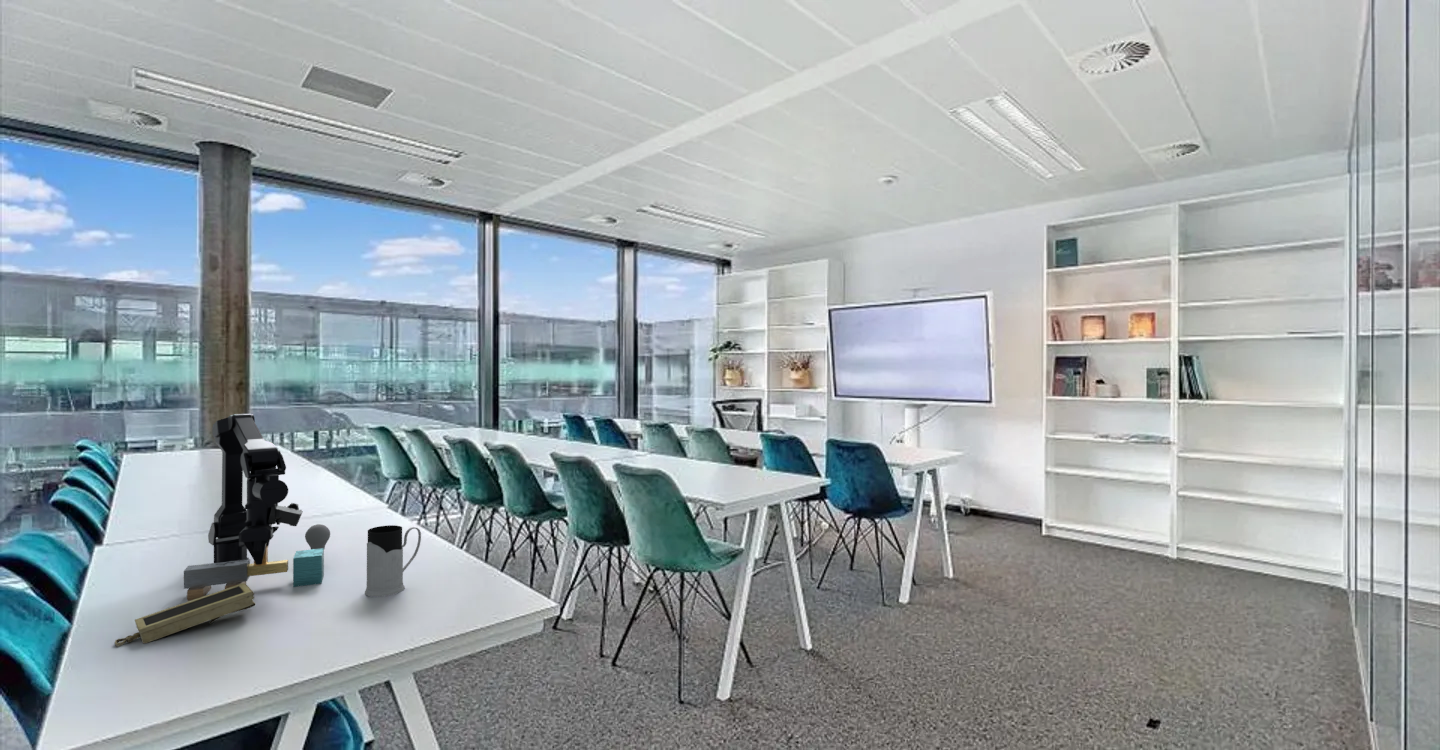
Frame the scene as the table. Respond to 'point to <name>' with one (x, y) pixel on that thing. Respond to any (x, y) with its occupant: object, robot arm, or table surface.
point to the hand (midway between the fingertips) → (261, 561)
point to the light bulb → (317, 536)
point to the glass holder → (386, 560)
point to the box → (191, 613)
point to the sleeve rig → (235, 572)
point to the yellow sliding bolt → (267, 566)
